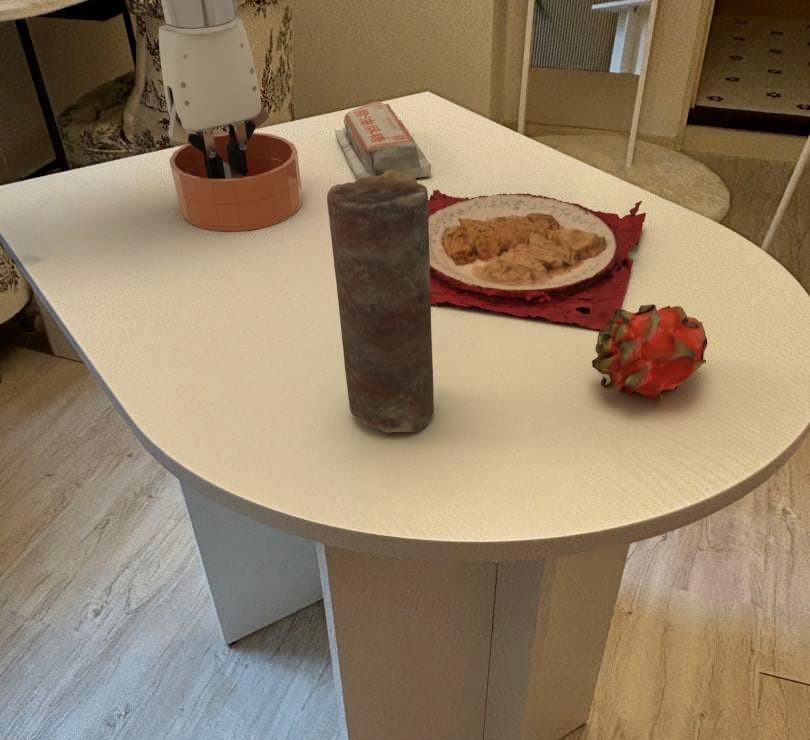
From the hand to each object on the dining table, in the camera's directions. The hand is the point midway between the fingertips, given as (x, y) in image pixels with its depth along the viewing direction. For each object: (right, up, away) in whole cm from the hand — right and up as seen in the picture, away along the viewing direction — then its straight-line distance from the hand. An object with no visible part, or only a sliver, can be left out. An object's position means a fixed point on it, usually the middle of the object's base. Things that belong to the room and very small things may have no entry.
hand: (229, 183), depth 98 cm
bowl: (+1, -2, +2) cm, 3 cm away
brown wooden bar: (0, 0, 0) cm, 0 cm away
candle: (+20, -33, -28) cm, 48 cm away
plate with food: (+34, -13, -9) cm, 37 cm away
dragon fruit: (+43, -30, -26) cm, 59 cm away
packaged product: (+18, +9, +12) cm, 24 cm away
